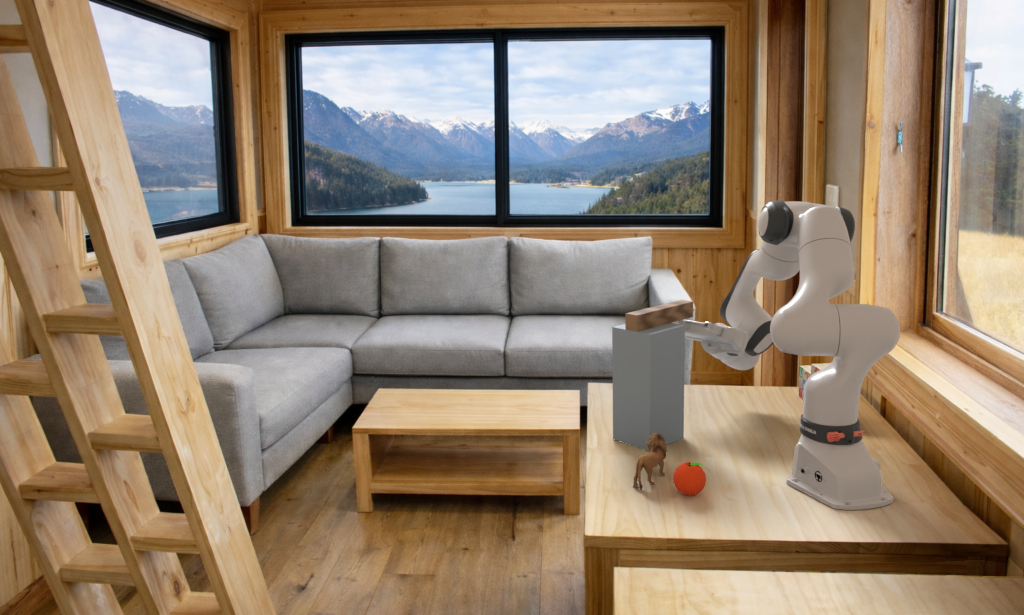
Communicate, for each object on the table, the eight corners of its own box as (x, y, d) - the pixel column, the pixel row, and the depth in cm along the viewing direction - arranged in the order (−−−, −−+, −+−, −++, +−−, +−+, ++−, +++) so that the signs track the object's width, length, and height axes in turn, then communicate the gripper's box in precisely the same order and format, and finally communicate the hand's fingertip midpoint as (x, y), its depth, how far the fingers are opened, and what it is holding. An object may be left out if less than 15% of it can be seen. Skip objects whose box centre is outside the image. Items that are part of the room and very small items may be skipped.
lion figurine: (646, 466, 195) (646, 429, 194) (669, 469, 193) (670, 431, 191) (629, 490, 182) (629, 451, 180) (654, 494, 180) (654, 454, 178)
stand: (646, 426, 221) (646, 318, 215) (683, 437, 212) (684, 325, 207) (612, 439, 213) (612, 327, 207) (650, 451, 204) (650, 334, 198)
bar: (681, 315, 218) (682, 299, 217) (692, 316, 216) (693, 301, 215) (625, 329, 204) (625, 313, 203) (636, 331, 201) (636, 315, 201)
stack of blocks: (797, 396, 243) (799, 355, 240) (819, 395, 243) (821, 354, 240) (825, 421, 222) (827, 375, 219) (849, 420, 222) (852, 375, 219)
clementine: (703, 485, 184) (704, 454, 182) (716, 498, 177) (716, 466, 175) (668, 489, 182) (668, 457, 181) (679, 502, 176) (679, 470, 174)
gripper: (690, 324, 235) (663, 305, 226) (754, 334, 220) (728, 315, 211) (683, 345, 234) (656, 327, 225) (747, 357, 219) (720, 339, 210)
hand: (691, 322), depth 218 cm, fingers open, 8 cm apart
